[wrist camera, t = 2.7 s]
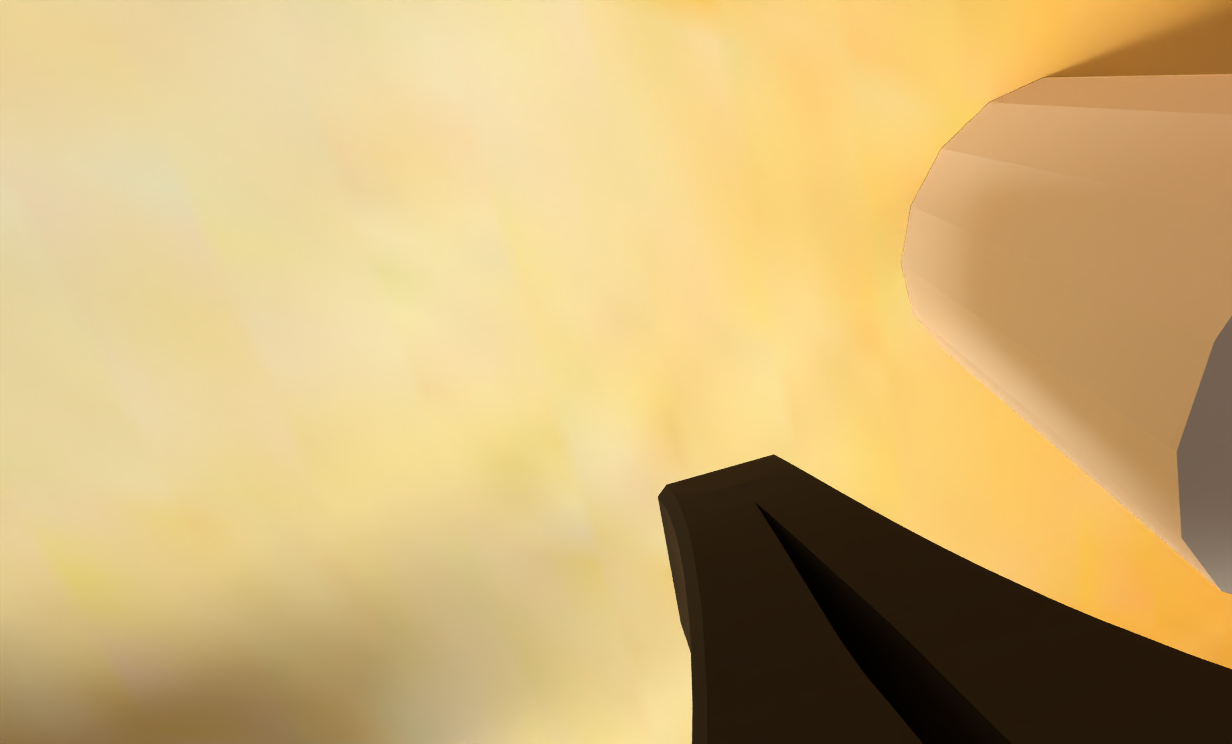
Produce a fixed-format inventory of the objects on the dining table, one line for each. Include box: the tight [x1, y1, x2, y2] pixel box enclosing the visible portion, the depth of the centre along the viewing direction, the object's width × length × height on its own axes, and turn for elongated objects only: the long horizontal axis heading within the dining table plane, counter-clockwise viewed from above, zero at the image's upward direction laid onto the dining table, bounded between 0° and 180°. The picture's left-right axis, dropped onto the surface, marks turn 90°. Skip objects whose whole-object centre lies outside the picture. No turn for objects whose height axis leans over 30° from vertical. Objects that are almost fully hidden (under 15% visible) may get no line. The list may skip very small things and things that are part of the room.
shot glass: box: [901, 74, 1232, 594], centre depth 13 cm, size 7×7×7 cm
